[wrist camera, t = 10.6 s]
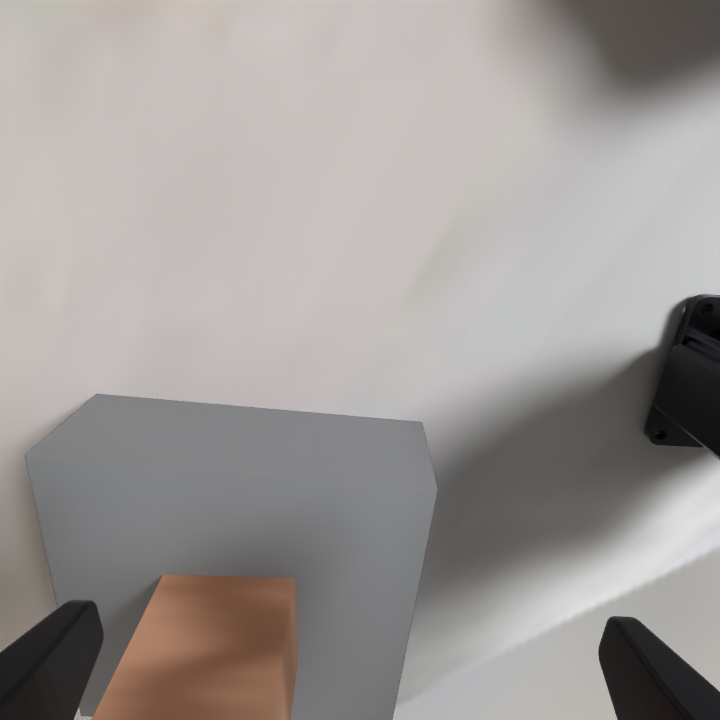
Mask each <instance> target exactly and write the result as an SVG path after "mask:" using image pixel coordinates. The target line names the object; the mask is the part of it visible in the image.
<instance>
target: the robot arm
mask: <svg viewBox="0 0 720 720" xmlns="http://www.w3.org/2000/svg"><path fill="white" fill-rule="evenodd" d="M704 304H706V308H705V309H704V311H702V312H701V313H699V311H700V308H701V306H703V305H704ZM659 430H661V432H660V433H659V434H657V435H655V434H656V433H657V432H658V431H659ZM644 435H645V437H646V438H647V439H649V440H650V441H651V442H652V443H653V444H656V445H670V446H688V447H704V448H706V449H707V450H708V451H709V452H711V453H712V454H713V455H714V456H716V457H717V458H718V459H719V460H720V295H707V294H702V295H697V296H695V297H693V298H692V299H691V300H690V301H689V303H688V304H687V306H686V309H685V312H684V315H683V318H682V321H681V324H680V327H679V330H678V332H677V335H676V338H675V341H674V344H673V347H672V349H671V351H670V354H669V357H668V359H667V362H666V365H665V368H664V371H663V374H662V377H661V380H660V383H659V386H658V389H657V392H656V395H655V398H654V400H653V405H652V408H651V411H650V414H649V417H648V420H647V423H646V426H645V429H644ZM103 638H104V631H103V627H102V623H101V620H100V616H99V612H98V609H97V605H96V603H95V602H94V601H92V600H70V601H68V602H66V603H64V604H63V605H61V606H60V607H59V608H57V609H56V610H55V611H54V612H52V613H51V614H50V615H48V616H47V617H46V618H44V619H43V620H42V621H40V622H39V623H38V624H37V625H35V626H34V627H33V628H31V629H30V630H29V631H27V632H26V633H25V634H24V635H22V636H21V637H20V638H18V639H17V640H16V641H14V642H13V643H12V644H11V645H9V646H8V647H7V648H5V649H4V650H3V651H1V652H0V720H74V717H75V715H76V712H77V710H78V707H79V704H80V702H81V699H82V697H83V694H84V691H85V689H86V686H87V684H88V681H89V678H90V676H91V673H92V671H93V668H94V665H95V663H96V660H97V658H98V655H99V652H100V650H101V647H102V644H103ZM598 653H599V661H600V664H601V668H602V671H603V674H604V677H605V681H606V684H607V687H608V690H609V694H610V697H611V700H612V703H613V706H614V710H615V713H616V716H617V719H618V720H720V692H719V691H718V690H717V689H716V688H715V687H714V686H713V685H711V684H710V683H709V682H708V681H707V680H706V679H705V678H704V677H702V676H701V675H700V674H699V673H698V672H697V671H696V670H694V669H693V668H692V667H691V666H690V665H689V664H688V663H687V662H685V661H684V660H683V659H682V658H681V657H680V656H679V655H677V654H676V653H675V652H674V651H673V650H672V649H671V648H669V647H668V646H667V645H666V644H665V643H664V642H663V641H662V640H660V639H659V638H658V637H657V636H656V635H655V634H654V633H652V632H651V631H650V630H649V629H648V628H647V627H646V626H645V625H643V624H642V623H641V622H640V621H638V620H637V619H635V618H633V617H620V616H619V617H618V616H613V617H610V618H609V619H608V621H607V623H606V626H605V629H604V633H603V636H602V639H601V642H600V645H599V652H598Z"/></svg>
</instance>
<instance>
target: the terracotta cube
mask: <svg viewBox="0 0 720 720" xmlns="http://www.w3.org/2000/svg"><path fill="white" fill-rule="evenodd" d="M297 667H298V664H297V630H296V596H295V578H274V577H240V576H206V575H171V574H163V576H162V578H161V580H160V582H159V584H158V586H157V588H156V590H155V592H154V594H153V596H152V598H151V600H150V602H149V604H148V606H147V608H146V610H145V612H144V614H143V616H142V618H141V620H140V622H139V624H138V626H137V628H136V630H135V632H134V634H133V636H132V638H131V640H130V642H129V645H128V647H127V649H126V651H125V653H124V655H123V657H122V659H121V661H120V663H119V665H118V667H117V669H116V671H115V673H114V675H113V677H112V679H111V681H110V683H109V685H108V687H107V689H106V691H105V693H104V695H103V697H102V699H101V701H100V703H99V705H98V707H97V709H96V711H95V713H94V715H93V718H92V720H291V712H292V704H293V697H294V689H295V682H296V674H297Z"/></svg>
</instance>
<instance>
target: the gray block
mask: <svg viewBox="0 0 720 720" xmlns="http://www.w3.org/2000/svg"><path fill="white" fill-rule="evenodd" d="M25 459H26V464H27V468H28V473H29V477H30V482H31V487H32V491H33V496H34V501H35V505H36V510H37V514H38V519H39V524H40V528H41V533H42V537H43V542H44V547H45V551H46V556H47V561H48V565H49V570H50V574H51V579H52V584H53V588H54V593H55V598H56V602H57V607H58V608H59V607H60V606H61V605H63V604H64V603H66V602H68V601H70V600H92V601H94V602H95V603H96V605H97V609H98V612H99V616H100V620H101V623H102V627H103V631H104V638H103V644H102V647H101V650H100V652H99V655H98V658H97V660H96V663H95V665H94V668H93V671H92V673H91V676H90V678H89V681H88V684H87V686H86V689H85V691H84V694H83V697H82V699H81V702H80V704H79V708H80V713H81V716H91V717H93V715H94V713H95V711H96V709H97V707H98V705H99V703H100V701H101V699H102V697H103V695H104V693H105V691H106V689H107V687H108V685H109V683H110V681H111V679H112V677H113V675H114V673H115V671H116V669H117V667H118V665H119V663H120V661H121V659H122V657H123V655H124V653H125V651H126V649H127V647H128V645H129V642H130V640H131V638H132V636H133V634H134V632H135V630H136V628H137V626H138V624H139V622H140V620H141V618H142V616H143V614H144V612H145V610H146V608H147V606H148V604H149V602H150V600H151V598H152V596H153V594H154V592H155V590H156V588H157V586H158V584H159V582H160V580H161V578H162V576H163V574H171V575H206V576H240V577H274V578H295V596H296V630H297V664H298V667H297V674H296V682H295V689H294V697H293V704H292V712H291V720H392V719H393V714H394V709H395V704H396V699H397V694H398V689H399V684H400V678H401V673H402V668H403V663H404V658H405V653H406V648H407V643H408V638H409V633H410V628H411V623H412V618H413V612H414V607H415V602H416V597H417V592H418V587H419V582H420V577H421V572H422V567H423V562H424V557H425V552H426V546H427V541H428V536H429V531H430V526H431V521H432V516H433V511H434V506H435V501H436V496H437V491H438V488H437V483H436V479H435V475H434V471H433V466H432V462H431V458H430V454H429V449H428V445H427V441H426V437H425V432H424V428H423V424H422V422H416V421H404V420H393V419H381V418H370V417H358V416H346V415H335V414H323V413H312V412H300V411H289V410H277V409H266V408H254V407H243V406H231V405H220V404H208V403H196V402H185V401H173V400H162V399H150V398H139V397H127V396H116V395H104V394H96V395H95V396H94V397H93V398H91V399H90V400H89V401H88V402H87V403H86V404H84V405H83V406H82V407H81V408H80V409H78V410H77V411H76V412H75V413H74V414H73V415H71V416H70V417H69V418H68V419H67V420H66V421H64V422H63V423H62V424H61V425H60V426H58V427H57V428H56V429H55V430H54V431H53V432H51V433H50V434H49V435H48V436H47V437H46V438H44V439H43V440H42V441H41V442H40V443H38V444H37V445H36V446H35V447H34V448H33V449H31V450H30V451H29V452H28V453H27V454H26V455H25Z"/></svg>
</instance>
